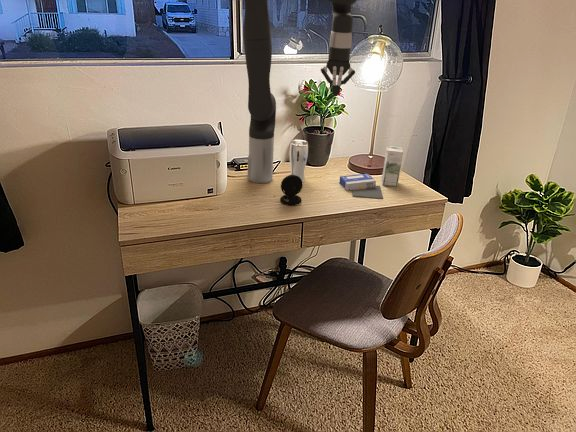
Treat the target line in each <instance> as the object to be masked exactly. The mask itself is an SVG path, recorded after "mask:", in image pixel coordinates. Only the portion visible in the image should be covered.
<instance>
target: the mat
mask: <svg viewBox="0 0 576 432" xmlns="http://www.w3.org/2000/svg"><path fill="white" fill-rule="evenodd" d="M351 193H352V195H351V196H352V198H353V197H354V198H365V199H366V198H367V199H378V200H381V199H382V200H383V199H384V196H383V192H382V188H381V185H376V187H374V188H366V189H355V190H351Z"/></svg>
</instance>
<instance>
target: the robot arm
mask: <svg viewBox="0 0 576 432" xmlns="http://www.w3.org/2000/svg"><path fill="white" fill-rule="evenodd" d="M326 1H327V2H329V3H331V6H332V10H331V11H332V20H331V33H330V37H329V47H328V48H329V49H328V60H327V62H326V65H325V66H323V67H321V68H320V73H322V75H323V77H324V78H325V80H326V81H327V83H328V84H331V86H332V87H331V94H332V95H333V96H334V97H338V95H340V92H341V86H342V85H346V84H347V82H349V81H350V79H352V77H354V75H355V74H356V71H355V69H354V68H352V67H351V62H350V61H351V59H350V58H351V49H352V41H353V40H352V38H353V37H352V34H353V33H352V31H353V24H354V23H353V21H354V19H353V18H354V17H353V15H352V5H354V4H355V3H356V1H357V0H325V2H326ZM268 3H269V2H268V0H244V19H243V47H244V55H245V58H244V59H245V64H246V71H247V77H248V78H247V79H248V80H247V81H248V98H247V99H248V101H247V108H248V109H247V110H248V113H249V114H250V122H249V128H248V156H247V181H248V182H249V181H250V182H251V183H256V184H266V183H270V182H272V181H273V175H274V174H273V172H274V171H273V170H274V169H273V168H274V151H275V150H274V149H275V148H274V146H275V145H274V144H275V131H276V130H275V128H276V116H277V115H276V114H277V100H276V97H275V96H274V94H273V93H272V92H271V85H270V84H271V82H270V81H271V80H270V78H271V77H270V76H271V67H272V59H273V58H272V56H273V55H272V53H273V51H272V50H273V45H272V44H273V43H272V29H271V21H270V14H269V6H268ZM328 71H329V73H330V74H331V75H332V78H331V77H330V76H329V73H328ZM346 73H348V74H347V75H346V76H345V77H344V78H343V76H344V75H345V74H346Z"/></svg>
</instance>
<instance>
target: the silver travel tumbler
mask: <svg viewBox="0 0 576 432" xmlns="http://www.w3.org/2000/svg"><path fill="white" fill-rule="evenodd" d="M308 155H309V143H308V141H306V140H303V139H294V140H290V146H289V165H290V173H289V175H296V176H298V177H300V179H301V180H302V183H304V182H305V180H306V179H305V178H306V177H305V169H306V166H307V161H308V158H309V157H308Z"/></svg>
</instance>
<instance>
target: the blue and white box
mask: <svg viewBox="0 0 576 432" xmlns="http://www.w3.org/2000/svg"><path fill="white" fill-rule="evenodd" d="M338 183H339V184H340V185H341V186H342V187H343V188H344V189H345V190H346V191H347V192H348V191H352V190H355V189H366V188H374V187H376V186H377V184H376V183H377V180H375V178H374V177H372V176H371V175H370V174H369V173H359V174H349V175H340V176H339V182H338Z"/></svg>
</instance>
